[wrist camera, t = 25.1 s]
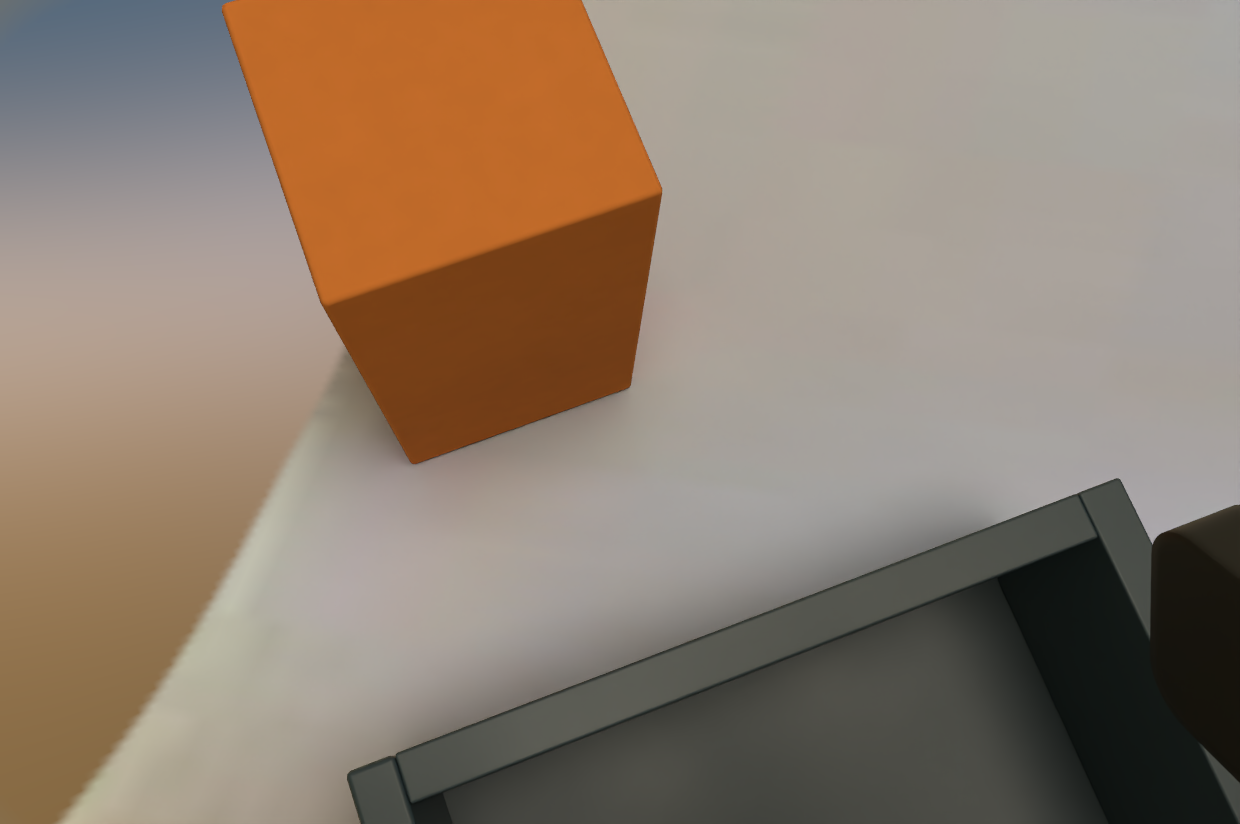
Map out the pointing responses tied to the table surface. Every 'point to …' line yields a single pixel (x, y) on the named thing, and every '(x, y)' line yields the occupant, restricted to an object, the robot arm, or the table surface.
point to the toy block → (459, 200)
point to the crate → (863, 706)
